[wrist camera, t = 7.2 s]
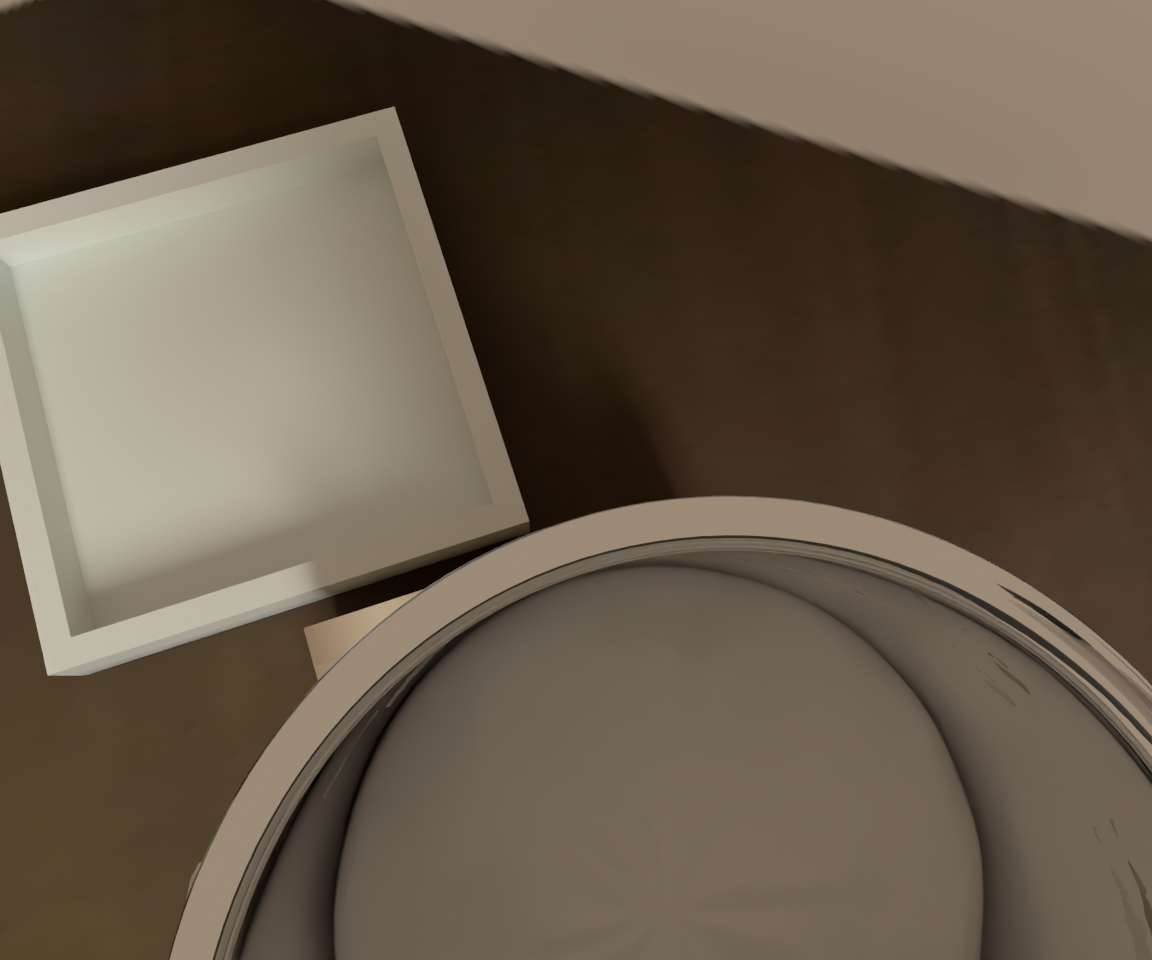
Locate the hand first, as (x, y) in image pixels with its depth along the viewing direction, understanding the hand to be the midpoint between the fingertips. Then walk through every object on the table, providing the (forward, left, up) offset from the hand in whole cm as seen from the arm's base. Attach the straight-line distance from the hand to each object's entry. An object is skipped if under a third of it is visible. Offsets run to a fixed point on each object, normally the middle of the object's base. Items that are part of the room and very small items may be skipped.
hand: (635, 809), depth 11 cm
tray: (+6, -13, -17) cm, 22 cm away
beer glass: (0, +1, -9) cm, 9 cm away
